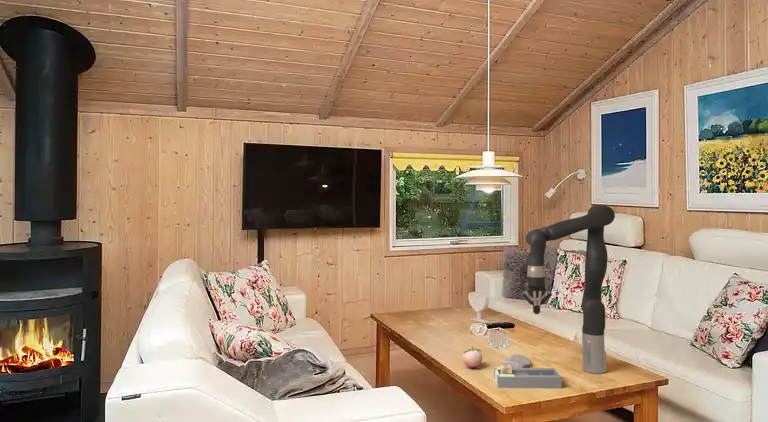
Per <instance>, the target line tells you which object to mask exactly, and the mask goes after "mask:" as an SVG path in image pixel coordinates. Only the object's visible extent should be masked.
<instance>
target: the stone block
mask: <svg viewBox="0 0 768 422" xmlns="http://www.w3.org/2000/svg"><path fill="white" fill-rule="evenodd" d="M531 364H532V360H531V359H530V358H529V357H527V356H524V355H520V354H512V355H510V356H509V357H508V358H507V359H505V360H504V364H503V365H510V366H511V368H531Z"/></svg>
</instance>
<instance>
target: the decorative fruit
mask: <svg viewBox="0 0 768 422" xmlns="http://www.w3.org/2000/svg"><path fill="white" fill-rule="evenodd" d="M462 361H463V363H464V365H466V366H467V367H469V368H471V369H473V368H476V367H478V366H479V365H481V362H482V361H483V354H482V350H481V348H476V347H475V348H474V347H473V346H472V347H471V348H466V349H464V350H463V351H462Z"/></svg>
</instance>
